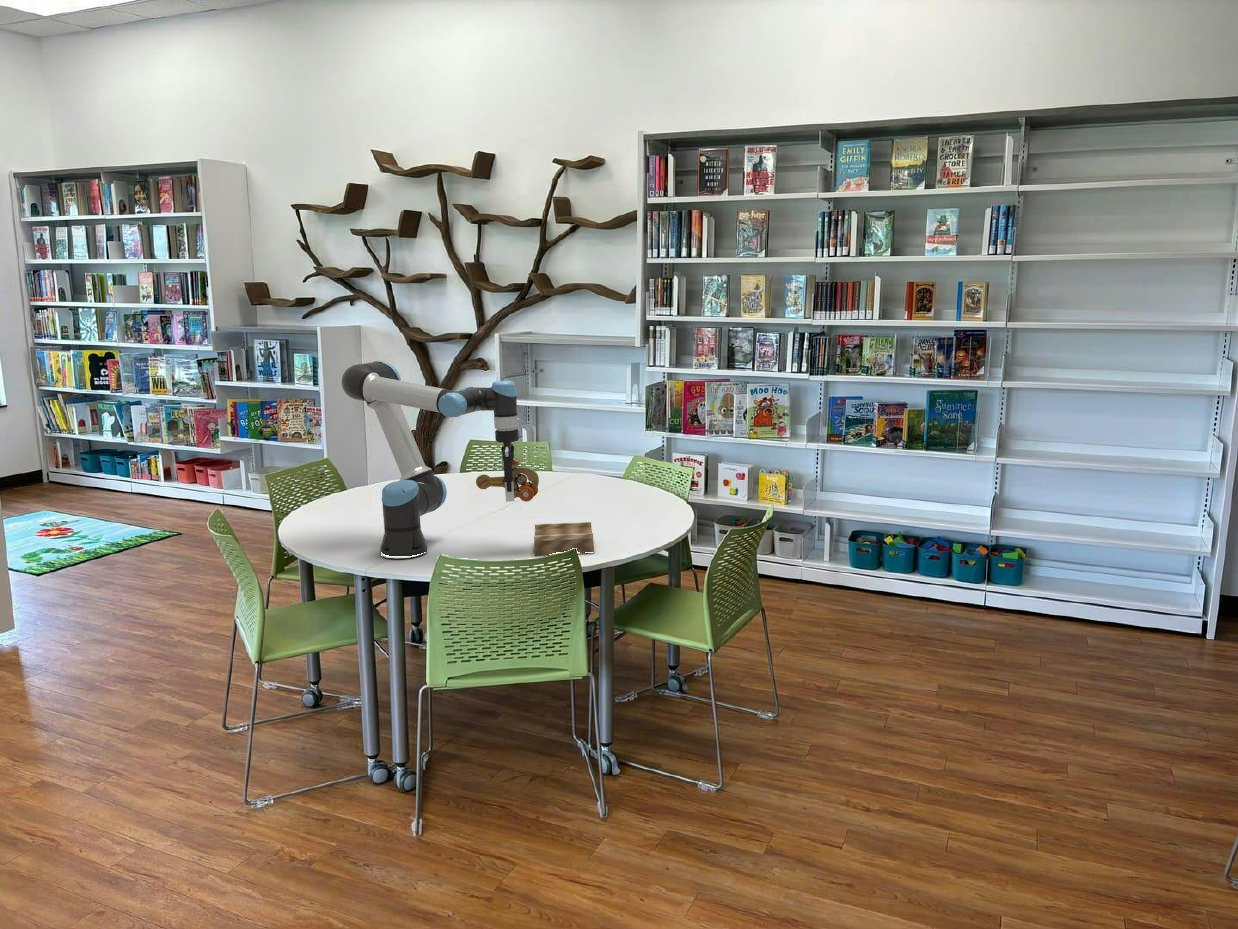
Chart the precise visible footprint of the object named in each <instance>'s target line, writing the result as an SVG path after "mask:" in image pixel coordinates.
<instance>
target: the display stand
mask: <svg viewBox="0 0 1238 929" xmlns="http://www.w3.org/2000/svg"><path fill="white" fill-rule="evenodd" d="M592 529H593V528H592V522H591V521H586V522H585V521H584V522H583V521H581V522H561V523H560V522H557V523H535V524H534V536H533V540H534V546H533V547H534V557H539V556H541V557H542V556H544V557H545V555H547V556H550V555H549V554H552V553H556V552H564V551H568V550H570V549H572V548H577V551H578V552H580V553H585V552H594V553H595V550H594V546H595V545H594V533H593V530H592Z"/></svg>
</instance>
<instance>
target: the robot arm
mask: <svg viewBox="0 0 1238 929" xmlns="http://www.w3.org/2000/svg"><path fill="white" fill-rule="evenodd" d="M341 388H342V390H343V392H344V393H345V395H347V396H348V397H349V398H351V399H353V400H356V401H362V402H365V403H366V405H367V407H368V408H369V409H373V410H374V413H375V415H376V417H377V420H378V422H379V424H380V427H381V430H382V432H383V434H384V437H385V438H386V442H387V444H388V447H389V449H390V451H391V453H392V455H393V458H394V460H395V463H396V465H397V467H398V470H399V473H400V474H401V475H400V478H399V480H397V481H392V482H390V483H387V484H386V485H384V487H383V488H382V489H381V502H382V513H383V514H382V516H383V526H384V527H383V528H384V532H383V537H382V541H381V545H380V548H379V549H380V550H379V551H380V553H381V552H382V553H383V554H385V555H389V556H412V555H417V554H421V553H424V552H427V550H428V543H427V540H426V539H425V536H424V533H423V531H422V526H421V517H422V516H423V515H427V514H428V513H431V512H434V511H436V510H438V509H439V508H441V507H442V506H443V505H444V503H445V501H446V498H447V492H448V491H447V486H446V484H445V482H444V480H443V479H442V478H441V477H439V476H438V475H435V473H434V471H433V469H432V468H431V467H429V466H427V465H426V464H425V462H424V459H423V456H422V454H421V452H420V450H419V447H418V444H417V442H416V440H415V437H414V435H413V433H412V430H411V428H410V425H409V423H408V420H407V418H406V416H405V413H404V411H403V408H402V406H404V407H409V408H415V409H421V410H425V411H431V412H436V413H440V414H442V415H443V416H444V417H446V418H459V417H461V416H463V415H468V414H471V413H475V412H480V411H481V412H483V411H485V412H486V411H489V412H490V411H493V424H494V429H495V431H494V436H495V437H494V438H495V442H497V443H502V444H503V445H502V446H501V454H502V458H501V459H502V461H503V468H504V469H503V477H504V480H502V481H503V482H505V488H504V494H505V502H506V503H507V502H508V503H509V502H515V499H514V485H513V477H512V470H514V468H513V469H512V461H513V460H514V459H515V453H514V452H515V445H513V443H514V442H518V441H519V439H520V434H519V433H520V432H519V429H518V427H519V423H518V422H519V421H520V420H521V419H520V417H519V418H518V406H517V405H518V401H517V396H518V394H517V388H516V383H515V382H514V381H512V380H496V381H493V382H492V384H491V386H490V387H479V386H478V387H476V386H475V387H474V386H469V387H463V388H460V390H456V391H455V390H451V389H446V388H442V387H441V388H440V387H437V386H436V387H435V386H431V385H426V384H419V383H414V382H410V381H404V380H401V375H400V372H399V371H398V369H397V368H396V367H395V366H394V365H393V364H392V363H389V362H386V361H380V360H379V361H377V360H375V361H372V362H366V363H360V364H359V363H358V364H353V365H350V367H348V368H347V369H346V370H344V372H343V373H342V376H341ZM428 551H429V550H428ZM427 553H428V552H427Z"/></svg>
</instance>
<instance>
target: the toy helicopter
mask: <svg viewBox="0 0 1238 929" xmlns="http://www.w3.org/2000/svg"><path fill="white" fill-rule="evenodd" d="M524 460H526V458H525V457H524V458H521V459H519V460H517V461H516V460H515V459H513V461H512V469H513V468H514V470H512V477H513V485H514V500H515V499H516V498H520V500H521V501H522V502H527V503H528V502H531V500H533V498H534V497H535V496H537V494H538V492H539V483H540V477H539V475H538V473H537V472H536V470H534V468H531V467H525V466H521V467H519V466H520V463H519V462H522V461H524ZM500 471H504V467H502V468H501V469H500ZM502 480H504V476H489V475H488V474H480V475H479V476H477V477H476V479H475V485H476V487H478V489H480V490H487V489H488V488H489V487H490V488H493V487H495V488H498V487H499V488H503V489H505V482H503V481H502Z"/></svg>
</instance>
